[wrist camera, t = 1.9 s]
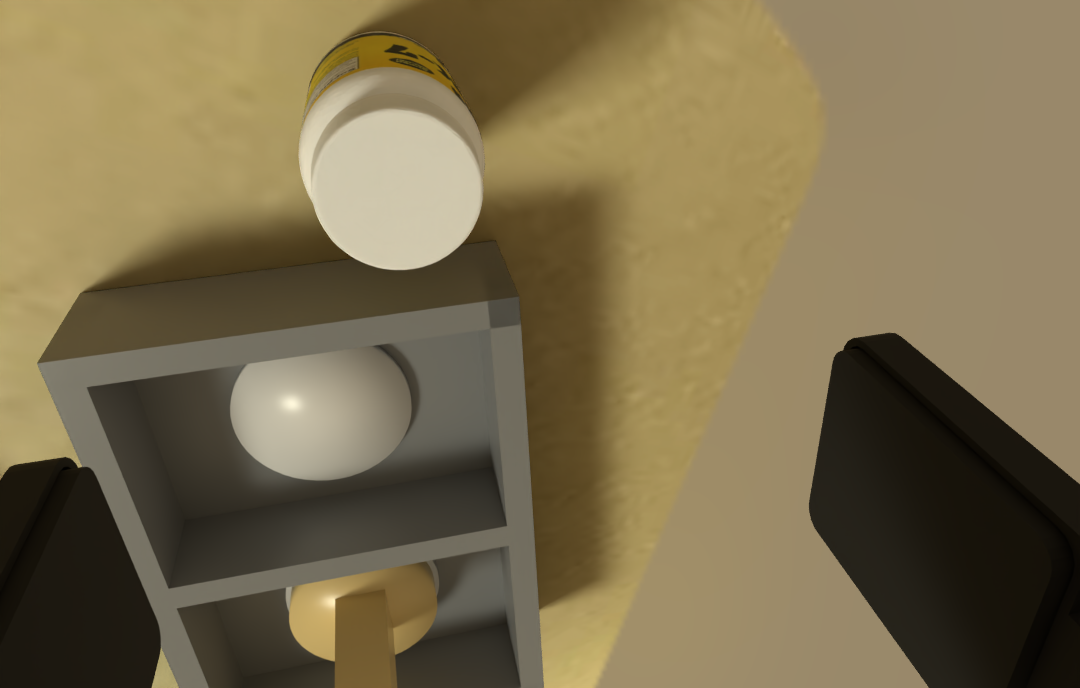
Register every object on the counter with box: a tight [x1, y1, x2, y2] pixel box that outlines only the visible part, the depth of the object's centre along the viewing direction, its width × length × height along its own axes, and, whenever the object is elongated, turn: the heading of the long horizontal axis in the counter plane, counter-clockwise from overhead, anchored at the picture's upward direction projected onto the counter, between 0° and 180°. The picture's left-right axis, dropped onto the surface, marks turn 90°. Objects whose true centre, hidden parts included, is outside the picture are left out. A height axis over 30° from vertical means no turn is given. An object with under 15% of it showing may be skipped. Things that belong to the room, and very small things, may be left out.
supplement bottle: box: [298, 31, 485, 270], centre depth 22 cm, size 5×5×8 cm
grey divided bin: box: [37, 241, 544, 688], centre depth 30 cm, size 20×14×8 cm
